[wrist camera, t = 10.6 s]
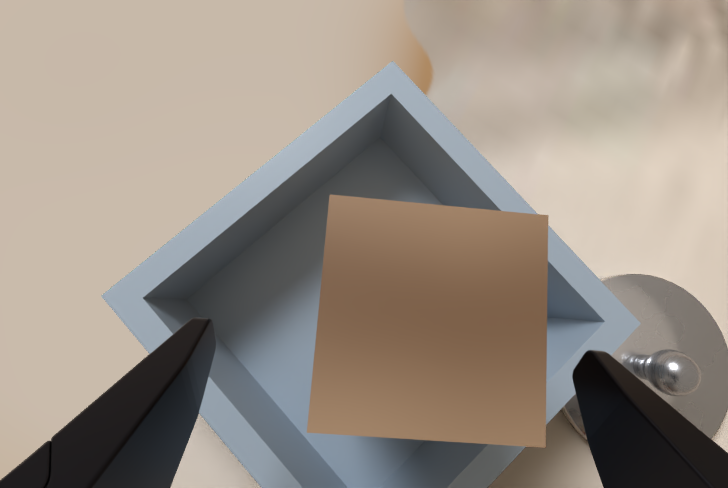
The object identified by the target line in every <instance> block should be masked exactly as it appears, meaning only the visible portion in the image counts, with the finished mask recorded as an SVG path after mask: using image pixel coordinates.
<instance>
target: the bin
mask: <svg viewBox="0 0 728 488" xmlns="http://www.w3.org/2000/svg"><path fill="white" fill-rule="evenodd" d="M329 195H341V196H351V197H362V198H372V199H383V200H393V201H403V202H414V203H424V204H435V205H445V206H456V207H466V208H476V209H487V210H497V211H508V212H518V213H529V214H537V213H536V212H535V211H534V210H533V209H532V208H531V207H530V205H529V204H528V203H527V202H526V201H525V200H524V199H523V198H522V197H521V196H520V195H519V194H518V193H517V192H516V191H515V190H514V189H513V187H512V186H511V185H510V184H509V183H508V182H507V181H506V180H505V179H504V178H503V177H502V176H501V175H500V174H499V173H498V172H497V171H496V169H495V168H494V167H493V166H492V165H491V164H490V163H489V162H488V161H487V160H486V159H485V158H484V157H483V156H482V155H481V154H480V153H479V151H478V150H477V149H476V148H475V147H474V146H473V145H472V144H471V143H470V142H469V141H468V140H467V139H466V138H465V137H464V136H463V135H462V133H461V132H460V131H459V130H458V129H457V128H456V127H455V126H454V125H453V124H452V123H451V122H450V121H449V120H448V119H447V118H446V117H445V115H444V114H443V113H442V112H441V111H440V110H439V109H438V108H437V107H436V106H435V105H434V104H433V103H432V102H431V101H430V100H429V99H428V97H427V96H426V95H425V94H424V93H423V92H422V91H421V90H420V89H419V88H418V87H417V86H416V85H415V84H414V83H413V82H412V81H411V80H410V78H409V77H408V76H407V75H406V74H405V73H404V72H403V71H402V70H401V69H400V68H399V67H398V66H397V65H396V64H395V63H394V62H393V61H392V62H391V63H389V64H388V65H387V66H386V67H385V68H383V69H382V70H381V71H380V72H378V73H377V74H376V75H375V76H373V77H372V78H371V79H370V80H368V81H367V82H366V83H365V84H363V85H362V86H361V87H360V88H358V89H357V90H356V91H355V92H353V93H352V94H351V95H350V96H349V97H347V98H346V99H345V100H344V101H342V102H341V103H340V104H339V105H337V106H336V107H335V108H334V109H332V110H331V111H330V112H329V113H327V114H326V115H325V116H324V117H323V118H321V119H320V120H319V121H317V122H316V123H315V124H314V125H313V126H311V127H310V128H309V129H308V130H306V131H305V132H304V133H303V134H301V135H300V136H299V137H298V138H296V139H295V140H294V141H293V142H292V143H290V144H289V145H288V146H286V147H285V148H284V149H283V150H281V151H280V152H279V153H278V154H277V155H275V156H274V157H273V158H272V159H270V160H269V161H268V162H267V163H265V164H264V165H263V166H262V167H260V168H259V169H258V170H257V171H255V172H254V173H253V174H252V175H250V176H249V177H248V178H247V179H245V180H244V181H243V182H242V183H241V184H239V185H238V186H237V187H236V188H234V189H233V190H232V191H231V192H229V193H228V194H227V195H226V196H224V197H223V198H222V199H221V200H219V201H218V202H217V203H216V204H214V205H213V206H212V207H211V208H209V209H208V210H207V211H206V212H205V213H203V214H202V215H201V216H200V217H198V218H197V219H196V220H195V221H193V222H192V223H191V224H190V225H188V226H187V227H186V228H185V229H183V230H182V231H181V232H180V233H178V235H176V236H175V237H173V238H172V239H171V240H170V241H169V242H167V243H166V244H165V245H164V246H162V247H161V248H160V249H159V250H158V251H156V252H155V253H154V254H152V255H151V256H150V257H149V258H147V259H146V260H145V261H144V262H142V263H141V264H140V265H139V266H138V267H136V268H135V269H134V270H133V271H131V272H130V273H129V274H128V275H126V276H125V277H124V278H123V279H122V280H120V281H119V282H118V283H116V284H115V285H114V286H113V287H111V288H110V289H109V290H108V291H107V292H105V293H104V294H103V295H102V298H103V299H104V300H105V301H106V302H107V303H108V305H109V306H110V307H111V308H112V310H113V311H114V312H115V313H116V314H117V316H118V317H119V318H120V319H121V320H122V321H123V323H124V324H125V325H126V326H127V327H128V329H129V330H130V331H131V332H132V333H133V335H134V336H135V337H136V338H137V339H138V341H139V342H140V343H141V344H142V345H143V347H144V348H145V349H146V350H147V351H148V353H149V354H150V353H152V352H153V351H154V350H155V349H156V348H157V347H159V346H160V345H161V344H162V343H163V342H164V341H166V340H167V339H168V338H169V337H170V336H171V335H173V334H174V333H175V332H176V331H177V330H179V329H180V328H181V327H182V326H183V325H184V324H186V323H187V322H188V321H189V320H190V319H192V318H194V317H201V318H210V319H211V320H212V321H213V326H214V332H215V338H216V350H215V354H214V358H213V362H212V365H211V369H210V373H209V377H208V381H207V384H206V388H205V392H204V396H203V400H202V403H201V407H200V410H199V414H200V415H201V416H202V417H203V418H204V420H205V421H206V422H207V423H208V424H209V425H210V427H211V428H212V429H213V430H214V431H215V433H216V434H217V435H218V436H219V437H220V439H221V440H222V441H223V442H224V443H225V445H226V446H227V447H228V448H229V449H230V451H231V452H232V453H233V454H234V455H235V457H236V458H237V459H238V460H239V461H240V463H241V464H242V465H243V466H244V467H245V469H246V470H247V471H248V472H249V473H250V474H251V476H252V477H253V478H254V479H255V480H256V482H257V483H258V484H259V485H260V486H261V488H488V487H489V486H490V485H491V484H492V482H493V481H494V480H495V479H496V478H497V477H498V476H499V475H500V474H501V473H502V472H503V471H504V470H505V469H506V467H507V466H508V465H509V464H510V463H511V462H512V461H513V460H514V459H515V458H516V457H517V456H518V455H519V454H520V452H521V451H522V450H523V449H524V448H525V447H526V446H510V445H494V444H478V443H462V442H446V441H431V440H415V439H399V438H383V437H367V436H351V435H335V434H319V433H307V425H308V414H309V404H310V393H311V383H312V372H313V362H314V352H315V341H316V331H317V320H318V310H319V300H320V289H321V279H322V268H323V258H324V248H325V237H326V227H327V216H328V206H329ZM640 324H641V323H640V322H639V321H638V320H637V319H636V318H635V317H634V316H633V315H632V313H631V312H630V311H629V310H628V309H627V308H626V307H625V306H624V305H623V304H622V303H621V302H620V301H619V300H618V299H617V298H616V297H615V295H614V294H613V293H612V292H611V291H610V290H609V289H608V288H607V287H606V286H605V285H604V284H603V283H602V282H601V281H600V280H599V279H598V277H597V276H596V275H595V274H594V273H593V272H592V271H591V270H590V269H589V268H588V267H587V266H586V265H585V264H584V263H583V262H582V261H581V259H580V258H579V257H578V256H577V255H576V254H575V253H574V252H573V251H572V250H571V249H570V248H569V247H568V246H567V245H566V244H565V243H564V241H563V240H562V239H561V238H560V237H559V236H558V235H557V234H556V233H555V232H554V231H553V230H552V229H551V228H550V227H549V226H548V283H547V372H546V425H547V424H548V422H549V421H550V420H551V419H552V418H553V417H554V416H555V415H556V414H557V413H558V412H559V411H560V410H561V409H562V407H563V406H564V405H565V404H566V403H567V402H568V401H569V400H570V399H571V398H572V397H573V396H574V395H575V394H576V392H575V388H574V384H573V379H572V374H573V370H574V368H575V367H576V365H577V364H578V362H579V361H580V359H581V358H582V356H583V355H584V353H585V352H586V351H588V350H598V351H605V352H607V353H609V354H610V355H612V354H613V353H614V352H615V351H616V350H617V349H618V347H619V346H620V345H621V344H622V343H623V342H624V341H625V340H626V339H627V338H628V337H629V336H630V335H631V334H632V332H633V331H634V330H635V329H636V328H637V327H638V326H639V325H640Z"/></svg>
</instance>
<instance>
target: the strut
mask: <svg viewBox="0 0 728 488" xmlns="http://www.w3.org/2000/svg"><path fill="white" fill-rule="evenodd" d="M547 283H548V215H539V214H529V213H518V212H508V211H497V210H487V209H476V208H466V207H456V206H445V205H435V204H424V203H414V202H403V201H393V200H383V199H372V198H362V197H351V196H341V195H329V206H328V216H327V227H326V237H325V248H324V258H323V268H322V279H321V289H320V300H319V310H318V320H317V331H316V341H315V352H314V362H313V372H312V383H311V393H310V404H309V414H308V425H307V433H319V434H335V435H351V436H367V437H383V438H399V439H415V440H431V441H446V442H462V443H478V444H494V445H510V446H526V447H542V448H546V372H547Z"/></svg>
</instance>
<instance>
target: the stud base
mask: <svg viewBox="0 0 728 488" xmlns="http://www.w3.org/2000/svg"><path fill="white" fill-rule="evenodd" d="M600 281H601V282H602V283H603V284H604V285H605V286H606V287H607V288H608V289H609V290H610V291H611V292H612V293H613V294H614V295H615V297H616V298H617V299H618V300H619V301H620V302H621V303H622V304H623V305H624V306H625V307H626V308H627V309H628V310H629V311H630V312H631V313H632V315H633V316H634V317H635V318H636V319H637V320H638V321H639V322H640V323H641V324H640V325H639V326H638V327H637V328H636V329H635V330H634V331H633V332H632V334H631V335H630V336H629V337H628V338H627V339H626V340H625V341H624V342H623V343H622V344H621V345H620V346H619V347H618V349H617V350H616V351H615V352H614V353H613V354H612V355H611V356H612V357H614V358H615V359H616V360H617V361H618V362H620V363H621V364H622V365H623V366H624V367H625V368H627V369H628V370H629V371H630V372H631V373H633V374H634V375H635V376H636V377H637V378H639V379H640V380H641V381H642V382H643V383H645V384H646V385H647V386H648V387H649V388H651V389H652V390H653V391H654V392H655V393H657V394H658V395H659V396H660V397H661V398H662V399H664V400H665V401H666V402H667V403H668V404H670V405H671V406H672V407H673V408H674V409H676V410H677V411H678V412H679V413H680V414H682V415H683V416H684V417H685V418H686V419H688V420H689V421H690V422H691V423H692V424H694V425H695V426H696V427H697V428H698V429H699V430H701V431H702V432H703V433H704V434H705V435H707V436H708V437H709V438H710V439H711V438H712V437H713V436H714V434H715V433H716V432H717V430H718V429H719V427H720V425H721V423H722V421H723V420H724V417H725V415H726V412H727V409H728V348H727V345H726V342H725V340H724V337H723V335H722V333H721V331H720V329H719V327H718V325H717V323H716V322H715V320H714V319H713V317H712V316H711V314H710V313H709V312H708V311H707V309H706V308H705V307H704V306H703V305H702V304H701V303H700V302H699V301H698V300H697V299H696V298H695V297H694V296H693V295H691V294H690V293H688V292H687V291H686V290H684V289H683V288H681V287H679V286H678V285H676V284H674V283H672V282H669V281H667V280H665V279H662V278H658V277H654V276H650V275H642V274H627V275H618V276H611V277H607V278H604V279H601V280H600ZM561 410H562V411H563V413H564V414H565V416H566V418H567V419H568V421H569V422H570V423H571V424H572V426H573V427H574V428H575V429H576V430H577V431H578V432H579V433H580V434H581V435H582V436H583V437H584V438H585V439H586V440H587V437H586V433H585V430H584V425H583V421H582V417H581V413H580V409H579V404H578V400H577V396H576V394H575V395H574V396H573V397H572V398H571V399H570V400H569V401H568V402H567V403H566V404H565V405H564V406H563V407H562V409H561Z"/></svg>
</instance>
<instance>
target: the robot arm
mask: <svg viewBox="0 0 728 488" xmlns="http://www.w3.org/2000/svg"><path fill="white" fill-rule="evenodd" d="M215 350H216V338H215V332H214V326H213V321H212V320H211V319H210V318H201V317H194V318H192V319H190V320H189V321H188V322H187V323H186V324H184V325H183V326H182V327H181V328H180V329H179V330H177V331H176V332H175V333H174V334H173V335H171V336H170V337H169V338H168V339H167V340H166V341H164V342H163V343H162V344H161V345H160V346H159V347H157V348H156V349H155V350H154V351H153V352H152V353H150V354H149V355H148V356H147V357H146V358H144V359H143V360H142V361H141V362H140V363H139V364H137V365H136V366H135V367H134V368H133V369H132V370H130V371H129V372H128V373H127V374H126V375H125V376H123V377H122V378H121V379H120V380H119V381H117V382H116V383H115V384H114V385H113V386H112V387H110V388H109V389H108V390H107V391H106V392H105V393H103V394H102V395H101V396H100V397H99V398H98V399H97V400H95V401H94V402H93V403H92V404H91V405H89V406H88V407H87V408H86V409H85V410H83V411H82V412H81V413H80V414H79V415H78V416H76V417H75V418H74V419H73V420H72V421H71V422H69V423H68V424H67V425H66V426H65V427H64V428H62V429H61V430H60V431H59V432H58V433H56V434H55V435H54V436H53V437H52V439H51V441H47V442H46V443H44V444H43V445H42V446H41V447H40V448H39V449H37V450H36V451H35V452H34V453H33V454H32V455H30V456H29V457H28V458H27V459H26V460H24V461H23V462H22V463H21V464H19V466H17V467H16V468H15V469H13V470H12V471H11V472H10V473H9V474H7V475H6V476H5V477H4V478H2V479H1V480H0V488H170V487H171V484H172V482H173V479H174V476H175V474H176V471H177V469H178V466H179V464H180V461H181V458H182V456H183V453H184V451H185V448H186V445H187V443H188V440H189V438H190V435H191V433H192V430H193V427H194V425H195V422H196V419H197V417H198V414H199V410H200V407H201V403H202V400H203V396H204V392H205V388H206V384H207V381H208V377H209V373H210V369H211V365H212V362H213V358H214V354H215ZM572 379H573V384H574V388H575V392H576V396H577V400H578V404H579V409H580V413H581V417H582V421H583V425H584V430H585V433H586V437H587V441H588V444H589V447H590V450H591V453H592V456H593V459H594V461H595V464H596V467H597V470H598V473H599V476H600V479H601V482H602V484H603V487H604V488H728V453H727V452H726V451H725V450H723V449H722V448H721V447H720V446H719V445H717V444H716V443H715V442H714V441H713V440H711V439H710V438H709V437H708V436H707V435H705V434H704V433H703V432H702V431H701V430H699V429H698V428H697V427H696V426H695V425H694V424H692V423H691V422H690V421H689V420H688V419H686V418H685V417H684V416H683V415H682V414H680V413H679V412H678V411H677V410H676V409H674V408H673V407H672V406H671V405H670V404H668V403H667V402H666V401H665V400H664V399H662V398H661V397H660V396H659V395H658V394H657V393H655V392H654V391H653V390H652V389H651V388H649V387H648V386H647V385H646V384H645V383H643V382H642V381H641V380H640V379H639V378H637V377H636V376H635V375H634V374H633V373H631V372H630V371H629V370H628V369H627V368H625V367H624V366H623V365H622V364H621V363H620V362H618V361H617V360H616V359H615V358H614V357H612V356H611V355H610V354H609V353H607V352H605V351H598V350H588V351H586V352H585V353H584V355H583V356H582V358H581V359H580V361H579V362H578V364H577V365H576V367H575V368H574V370H573V374H572Z"/></svg>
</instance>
